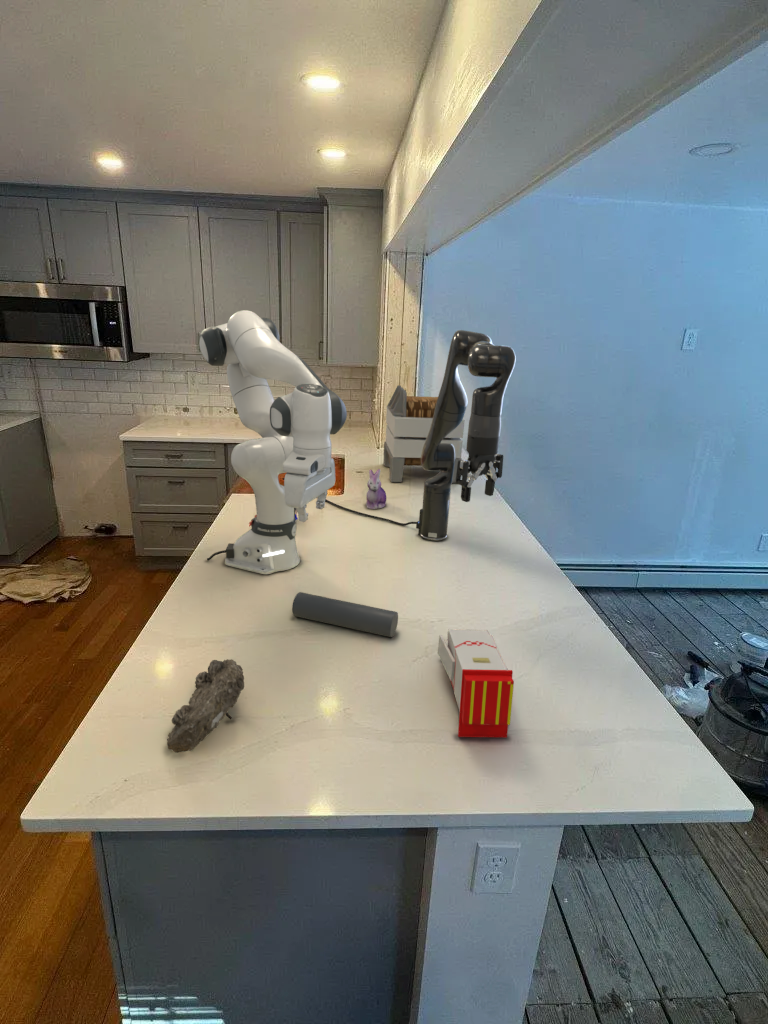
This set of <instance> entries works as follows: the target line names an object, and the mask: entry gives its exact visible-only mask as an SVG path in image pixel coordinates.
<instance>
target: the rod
mask: <svg viewBox="0 0 768 1024" xmlns="http://www.w3.org/2000/svg"><path fill="white" fill-rule="evenodd" d="M291 605H292V606H291V613H292V615H293V616H294V617H297V618H302V619H306V620H310V621H314V622H319V623H324V624H328V625H333V626H338V627H342V628H347V629H351V630H357V631H361V632H366V633H370V634H375V635H378V636H384V637H388V638H393V637H394V636H395V634H396V631H397V628H398V627H397V626H398V623H399V622H398V621H399V612H398V611H394V610H390V609H385V608H380V607H376V606H375V607H374V606H370V605H366V604H362V603H355V602H350V601H345V600H340V599H336V598H331V597H326V596H321V595H317V594H311V593H308V592H307V593H306V592H302V591H299V592H297V593H296V595H295V596H294V598H293V601H292V604H291Z"/></svg>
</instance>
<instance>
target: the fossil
mask: <svg viewBox="0 0 768 1024" xmlns="http://www.w3.org/2000/svg"><path fill="white" fill-rule="evenodd" d="M243 670H244V669H243V667H242V665H240V664H237V662H236V661H235V660H234V659H232V658H231V659H227V658H226V659H224V660H223V661H222V660H217V659H212V660H211V661H210V663H209V665H208V666H207V671H201V672H199V673H198V674H197V675H196V676H195V680H194V684H195V685H194V687H195V689H194V690H193V693H192V694H191V697H190V698H189V700H188V704H184V705H182V706H181V707H180V709H177V710H176V711H175V713H174V715H173V716H172V718H171V723H172V724H173V727H172V730H171V731H170V732H168V734H167V738H166V741H167V742H166V745H167V749H168V750H169V751H173V752H174V753H176V754H178V753H182V752H188V751H189V752H192V751H193V750H195V748H196V747H197V746H199V744H200V743H201V742H203V741H204V740H205V739H206V738H207V737H208V736H209V735H210V734H211V733H212V732H214V730H215V729H217V727H218V726H219V724H220V722H221V721H222V720H223V719H224V718H225V716H226V717H227V719H229V720H233V717H232V715H230V714H229V710H230V709H231V708H234V706H235V704H236V703H237V702H238V699H239V697H240V695H241V693H242V691H243V690H245V689H244V688H245V675H244V671H243Z"/></svg>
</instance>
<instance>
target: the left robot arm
mask: <svg viewBox="0 0 768 1024" xmlns="http://www.w3.org/2000/svg"><path fill="white" fill-rule="evenodd" d="M199 350H200V352H201V356H202V357H203V358H204V360H205V361H206V362H207V364H209V365H211V366H213V367H223V366H224V365H226V366H227V367H226V378H227V384H228V388H229V391H230V395H231V397H232V400H233V403H234V406H235V408H236V412H237V414H238V418H239V420H240V423H242V425H243V426H244V427H245V428H246V429H248V430H251V431H254V432H255V433H257V434H258V435H259V436H260V437H259V438H252V439H249V440H248V439H247V440H245V441H243V442H241V443H238V444H236V445H235V446H234V447H233V449H232V450H231V455H230V463H231V467H232V469H233V471H234V472H235V473H236V474H237V476H239V477H240V478H241V479H243V480H245V481H246V482H247V483H248V484H249V486H250V487H251V489H252V491H253V494H254V501H255V511H256V514H255V515H254V517H253V518H252V519H251V520H250V521H249V523H248V527H249V528H250V527H251V528H250V529H248V530H247V531H246V532H244V533H243V534H241V535H240V536H239V537H238V538H237V539H236V540H235V542H234V543H230V542H229V543H228V544H227V545H226V548H225V549H224V550H220V551H217V552H214V553H213V554H211V555H210V556H209V557H207V558H206V561H207V562H208V561H211V560H212V559H213V558H215V557H216V556H218V555H221V554H225V559H224V564H225V566H229V567H231V568H232V567H233V568H236V569H240V570H245V571H249V572H253V573H257V574H261V575H271V574H273V573H276V572H283V571H287V570H290V569H291V570H292V569H293V568H295V567H297V566H298V565H299V564H300V563H301V558H300V555H299V552H298V547H297V541H296V540H297V539H296V536H297V523H296V522H297V520H298V522H301V523H304V522H307V521H308V520H309V512H307V510H306V509H307V508H308V507H307V504H310V503H311V502H312V501H313V500H315V499H316V498H317V499H316V501H315V509H317V510H323V509H324V508H325V507H326V501H325V500H327V496H328V491H329V490H330V489H331V488H333V487H335V483H336V464H335V459H334V458H332V455H333V454H332V452H333V451H332V449H333V448H332V447H333V446H332V445H333V444H332V439H331V435H336V434H337V433H339V432H340V430H341V429H342V428H343V427H344V425H345V423H346V421H347V415H348V412H347V408H346V405H345V403H344V401H343V400H342V398H341V397H340V396H339V395H338V394H337V393H336V392H334V391H332V390H331V389H330V388H329V387H328V386H327V385H326V383H324V382H323V380H321V378H320V377H319V376H318V374H316V372H315V371H314V370H313V369H312V368H311V367H310V366H309V364H308V363H307V362H306V361H305V360H304V359H303V358H302V357H301V356H299V355H298V354H296V353H295V352H293V351H291V350H290V349H289V348H288V347H286V346H285V345H284V344H283V343H282V342H280V334H279V329H278V328H277V326H276V324H275V322H274V321H273V320H272V319H271V318H268V317H260V316H259V315H258V314H257V313H256V312H254V311H251V310H247V309H244V310H243V309H242V310H238V311H236V312H235V313H233V314H232V315H231V316H230V317H229V319H228V321H227V323H222V324H219V325H217V326H214V325H211V326H209V327H206V328H205V329H203V330H202V331H201V332H200V334H199ZM268 380H272V381H278V382H282V383H286V384H290V385H292V386H294V388H293V391H292V392H290V393H288V394H285V395H282V396H278V397H276V398H274V395H273V393H272V390H271V387H270V384H269V383H268ZM282 474H285V475H284V477H283V478H284V480H283V484H280V481H279V475H282ZM294 508H296V510H297V514H298V515H297V518H298V519H297V520H296V519H295V517H294Z"/></svg>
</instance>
